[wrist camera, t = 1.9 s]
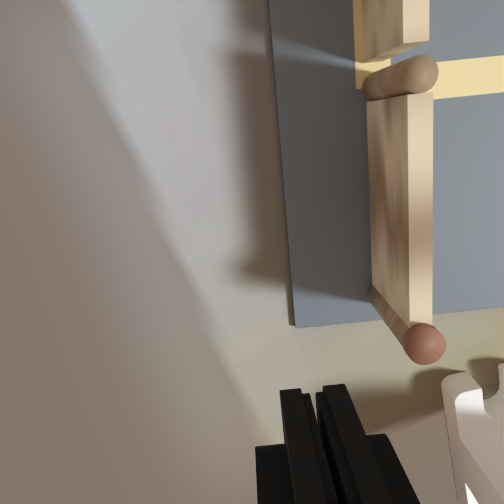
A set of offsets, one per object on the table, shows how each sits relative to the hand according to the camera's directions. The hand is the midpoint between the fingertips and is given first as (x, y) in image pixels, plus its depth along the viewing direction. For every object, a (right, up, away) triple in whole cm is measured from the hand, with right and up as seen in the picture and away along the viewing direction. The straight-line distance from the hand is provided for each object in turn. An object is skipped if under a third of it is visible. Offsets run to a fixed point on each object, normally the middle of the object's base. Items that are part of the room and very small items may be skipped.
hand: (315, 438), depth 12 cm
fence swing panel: (+5, +8, +13) cm, 16 cm away
